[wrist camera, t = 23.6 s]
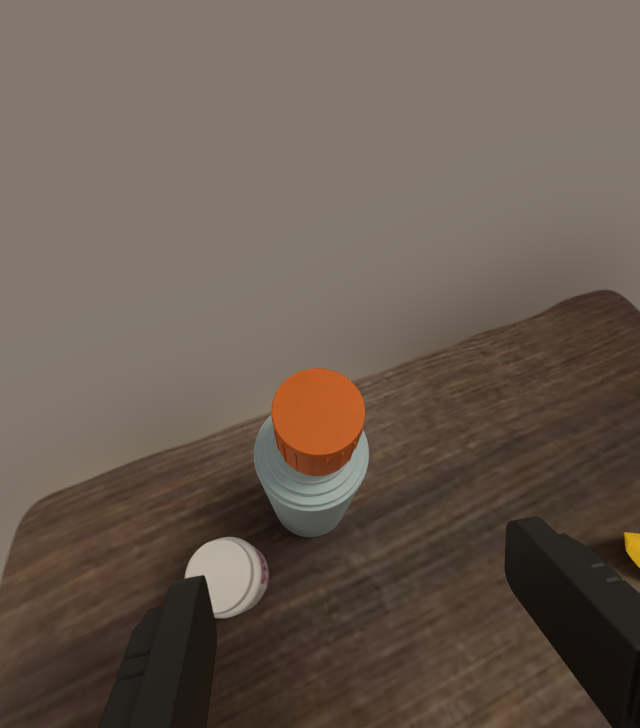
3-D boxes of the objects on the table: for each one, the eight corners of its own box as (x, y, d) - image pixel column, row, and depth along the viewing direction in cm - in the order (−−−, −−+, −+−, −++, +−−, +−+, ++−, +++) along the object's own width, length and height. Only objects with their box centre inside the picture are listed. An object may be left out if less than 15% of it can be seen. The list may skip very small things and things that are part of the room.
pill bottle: (282, 577, 31) (273, 577, 23) (233, 628, 29) (208, 644, 22) (244, 530, 32) (225, 515, 25) (196, 575, 30) (161, 573, 23)
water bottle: (277, 543, 32) (242, 502, 15) (269, 466, 35) (233, 358, 18) (353, 530, 32) (404, 475, 15) (339, 456, 35) (368, 341, 18)
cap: (360, 476, 19) (370, 455, 15) (275, 478, 18) (268, 457, 15) (354, 399, 21) (362, 366, 17) (277, 401, 20) (271, 367, 17)
